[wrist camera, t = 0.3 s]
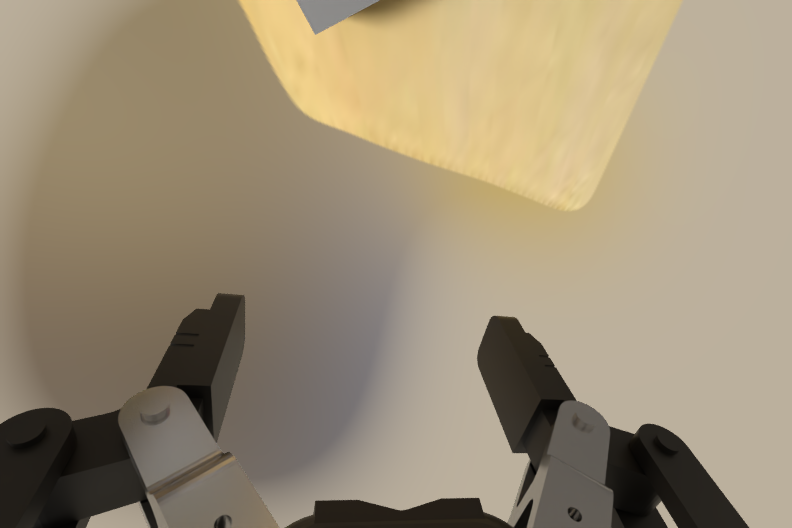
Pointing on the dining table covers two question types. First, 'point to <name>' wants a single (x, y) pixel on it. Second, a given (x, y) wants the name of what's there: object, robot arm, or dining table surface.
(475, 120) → the dining table surface
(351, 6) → the podium
